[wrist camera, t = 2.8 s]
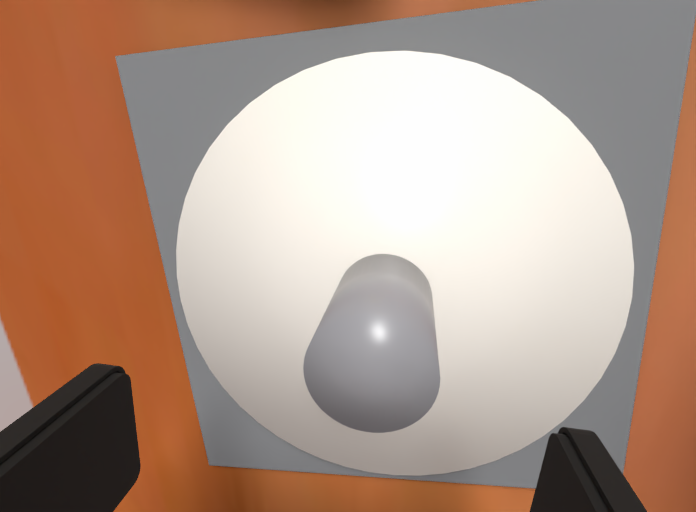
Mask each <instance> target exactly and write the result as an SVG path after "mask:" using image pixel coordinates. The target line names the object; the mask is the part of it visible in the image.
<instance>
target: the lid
mask: <svg viewBox="0 0 696 512" xmlns="http://www.w3.org/2000/svg"><path fill="white" fill-rule="evenodd" d="M176 265H177V280H178V286H179V293H180V299H181V303H182V307H183V310H184V314H185V317H186V321H187V324H188V327H189V329H190V331H191V334H192V336H193V338H194V341H195V343H196V346H197V348H198V350H199V351H200V353H201V355H202V357H203V358H204V360H205V362H206V364H207V365H208V367H209V369H210V370H211V372H212V373H213V374H214V376H215V377H216V378H217V380H218V381H219V383H220V384H221V385H222V387H223V388H224V389H225V390H226V391H227V393H228V394H229V395H230V396H231V397H232V398H233V399H234V400H235V401H236V402H237V404H238V405H239V406H240V407H241V408H242V409H244V410H245V411H246V412H247V413H248V414H249V415H250V416H251V417H253V418H254V419H255V420H256V421H257V422H258V423H260V424H261V425H262V426H264V427H265V428H266V429H268V430H269V431H271V432H272V433H273V434H275V435H276V436H278V437H279V438H281V439H283V440H285V441H286V442H288V443H290V444H291V445H293V446H295V447H297V448H298V449H300V450H303V451H305V452H307V453H309V454H312V455H314V456H316V457H318V458H321V459H323V460H326V461H329V462H332V463H335V464H338V465H341V466H344V467H348V468H353V469H357V470H362V471H366V472H372V473H380V474H389V475H412V476H421V475H433V474H444V473H450V472H455V471H460V470H465V469H471V468H474V467H477V466H480V465H483V464H487V463H490V462H493V461H496V460H498V459H501V458H503V457H505V456H507V455H510V454H512V453H514V452H517V451H519V450H521V449H522V448H524V447H526V446H528V445H529V444H531V443H533V442H534V441H536V440H538V439H539V438H541V437H543V436H544V435H545V434H547V433H548V432H549V431H551V430H552V429H553V428H555V427H556V426H557V425H558V424H560V423H561V422H562V421H564V420H565V419H566V418H567V417H568V416H569V415H570V414H571V413H572V412H573V411H574V410H575V409H576V408H577V407H578V406H579V405H580V404H581V403H582V402H583V401H584V400H585V399H586V397H587V396H588V395H589V393H590V392H591V391H592V389H593V388H594V387H595V386H596V384H597V383H598V382H599V380H600V379H601V378H602V376H603V374H604V372H605V370H606V369H607V367H608V365H609V363H610V362H611V360H612V358H613V356H614V355H615V353H616V350H617V347H618V345H619V342H620V340H621V337H622V334H623V332H624V329H625V327H626V323H627V318H628V314H629V309H630V305H631V300H632V293H633V278H634V258H633V248H632V237H631V232H630V228H629V224H628V220H627V216H626V212H625V208H624V205H623V202H622V200H621V197H620V195H619V193H618V190H617V188H616V186H615V184H614V181H613V179H612V177H611V174H610V172H609V171H608V169H607V168H606V166H605V165H604V163H603V161H602V160H601V158H600V157H599V155H598V154H597V152H596V150H595V149H594V147H593V146H592V144H591V143H590V142H589V141H588V140H587V139H586V137H585V136H584V135H583V134H582V133H581V132H580V131H579V130H578V128H577V127H576V126H575V125H574V124H573V123H572V122H571V121H570V119H569V118H568V117H566V116H565V115H564V114H563V113H562V112H560V111H559V110H558V109H557V108H556V107H554V106H553V105H552V104H551V103H550V102H548V101H547V100H546V99H545V98H543V97H542V96H541V95H539V94H538V93H536V92H534V91H533V90H531V89H529V88H528V87H526V86H524V85H523V84H521V83H519V82H518V81H516V80H514V79H513V78H511V77H509V76H507V75H504V74H502V73H500V72H497V71H495V70H492V69H490V68H487V67H485V66H483V65H480V64H478V63H475V62H471V61H467V60H463V59H459V58H455V57H451V56H447V55H443V54H435V53H425V52H415V51H385V52H368V53H363V54H358V55H353V56H348V57H342V58H337V59H334V60H331V61H328V62H325V63H322V64H319V65H316V66H314V67H311V68H308V69H305V70H303V71H301V72H299V73H297V74H295V75H293V76H291V77H289V78H287V79H285V80H283V81H281V82H280V83H278V84H276V85H274V86H273V87H271V88H270V89H269V90H267V91H266V92H264V93H263V94H262V95H260V96H259V97H257V98H256V99H255V100H253V101H252V102H250V103H249V104H248V105H247V106H246V107H245V108H244V109H243V110H242V111H241V112H240V113H239V114H238V115H237V116H236V117H235V118H234V119H233V120H231V121H230V122H229V123H228V124H227V126H226V127H225V128H224V129H223V131H222V132H221V133H220V135H219V136H218V137H217V138H216V140H215V141H214V142H213V144H212V145H211V146H210V147H209V149H208V151H207V153H206V154H205V156H204V158H203V160H202V161H201V163H200V165H199V167H198V168H197V170H196V172H195V174H194V177H193V179H192V182H191V184H190V187H189V190H188V192H187V195H186V197H185V201H184V205H183V209H182V213H181V217H180V221H179V227H178V237H177V246H176Z"/></svg>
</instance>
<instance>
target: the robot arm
mask: <svg viewBox="0 0 696 512" xmlns="http://www.w3.org/2000/svg"><path fill="white" fill-rule="evenodd" d="M139 472H140V458H139V449H138V441H137V432H136V423H135V415H134V406H133V397H132V389H131V380H130V377H129V375H127V374H125V370H124V369H123V368H122V367H120V366H113V365H106V364H99V363H98V364H93V365H91V366H89V367H88V368H87V369H85V370H84V371H83V372H81V373H80V374H79V375H77V376H76V377H74V378H73V379H72V380H70V381H69V382H68V383H66V384H65V385H64V386H62V387H61V388H59V389H58V390H57V391H55V392H54V393H53V394H51V395H50V396H49V397H47V398H46V399H44V400H43V401H42V402H40V403H39V404H38V405H36V406H35V407H34V408H32V409H31V410H30V411H28V412H27V413H25V414H24V415H23V416H21V417H20V418H19V419H17V420H16V421H15V422H13V423H12V424H10V425H9V426H8V427H7V428H5V429H4V430H2V431H1V432H0V512H113V511H114V510H115V508H116V507H117V506H118V504H119V503H120V502H121V501H122V499H123V498H124V497H125V495H126V494H127V493H128V491H129V490H130V489H131V488H132V486H133V485H134V483H135V482H136V480H137V478H138V475H139ZM530 512H647V511H646V509H645V508H644V506H643V505H642V503H641V502H640V500H639V499H638V497H637V495H636V494H635V492H634V491H633V489H632V488H631V486H630V485H629V483H628V482H627V480H626V479H625V477H624V476H623V474H622V472H621V471H620V469H619V468H618V466H617V465H616V463H615V462H614V460H613V459H612V457H611V456H610V454H609V453H608V451H607V449H606V448H605V446H604V445H603V443H602V442H601V440H600V439H599V437H598V436H597V435H596V433H595V432H593V431H590V430H583V429H576V428H568V427H561V428H560V429H559V431H558V434H557V433H551V435H550V436H549V439H548V443H547V447H546V451H545V455H544V459H543V463H542V467H541V470H540V474H539V478H538V482H537V486H536V490H535V494H534V498H533V502H532V505H531V509H530Z"/></svg>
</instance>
